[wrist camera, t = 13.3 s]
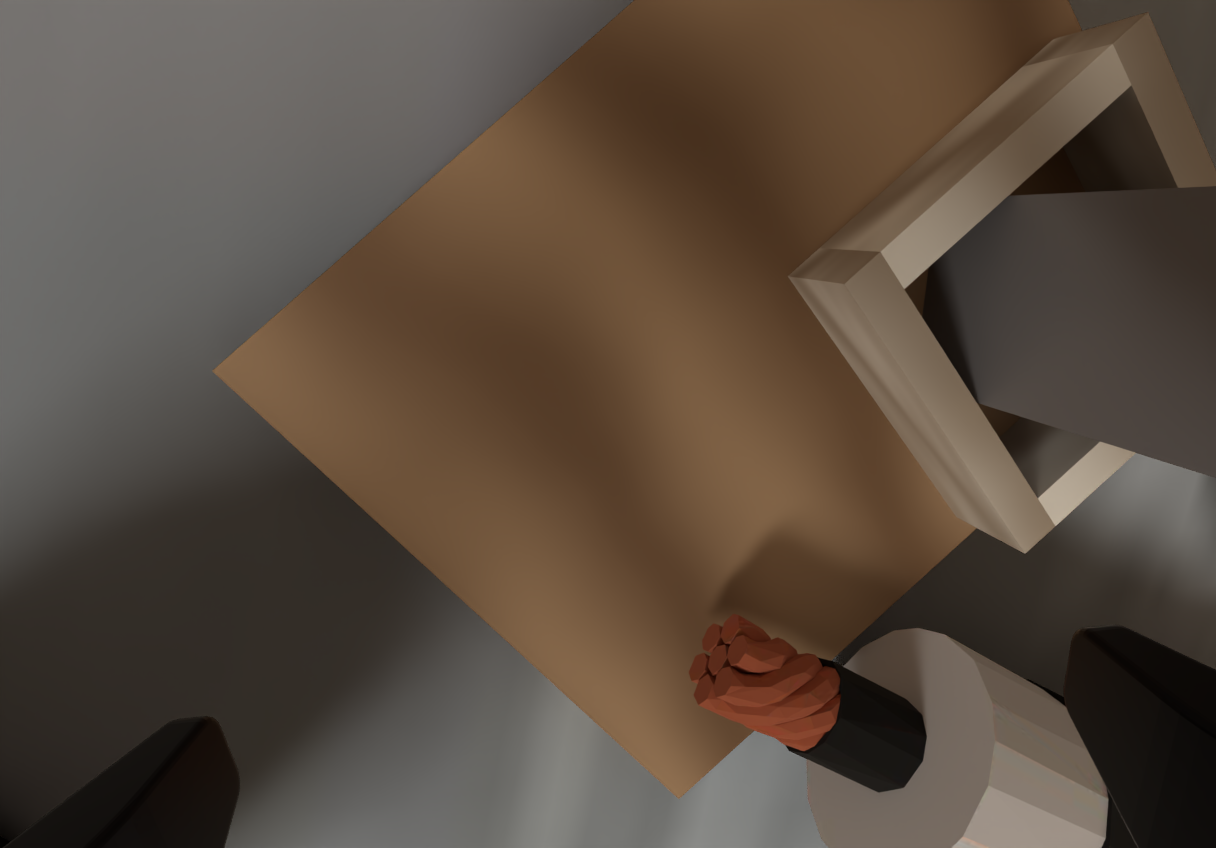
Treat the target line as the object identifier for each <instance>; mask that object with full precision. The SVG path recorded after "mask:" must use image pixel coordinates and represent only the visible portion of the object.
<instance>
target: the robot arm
mask: <svg viewBox="0 0 1216 848" xmlns="http://www.w3.org/2000/svg"><path fill="white" fill-rule="evenodd" d="M1064 700H1065V705H1066V708H1067V711H1068V713H1069V715H1070V718H1071V720H1072V721H1073V723H1074V725H1075V727H1076V729H1077V731H1078V733H1079V735H1080V737H1081V739H1082V741H1083V743H1084V745H1085V747H1086V749H1087V751H1088V753H1089V755H1090V757H1091V758H1092V760H1093V762H1094V764H1095V766H1096V768H1097V770H1098V772H1099V774H1100V776H1101V778H1102V780H1103V782H1104V784H1105V786H1106V788H1107V790H1108V792H1109V793H1110V795H1111V797H1112V799H1113V801H1114V803H1115V805H1116V807H1117V809H1118V811H1119V813H1120V815H1121V817H1122V819H1123V821H1124V823H1125V825H1126V827H1127V829H1128V830H1129V832H1130V834H1131V836H1132V838H1133V840H1134V842H1135V843H1136V845H1137V847H1138V848H1216V670H1215V669H1212V668H1210V667H1208V666H1206V665H1204V664H1202V663H1200V662H1198V661H1196V660H1193V659H1191V658H1189V657H1187V656H1185V655H1183V654H1181V653H1179V652H1177V651H1174V650H1172V649H1170V648H1168V647H1166V646H1164V645H1162V644H1160V643H1158V642H1155V641H1153V640H1151V639H1149V638H1147V637H1145V636H1143V635H1141V634H1139V633H1137V632H1134V631H1132V630H1130V629H1128V628H1126V627H1123V626H1120V625H1105V626H1095V627H1085V628H1081V629H1079V630H1077V631H1076V632H1075V634H1074V635H1073V638H1072V641H1071V647H1070V653H1069V659H1068V665H1067V671H1066V677H1065V683H1064ZM239 789H240V778H239V772H238V769H237V766H236V764H235V761H234V759H233V756H232V754H231V751H230V749H229V746H228V744H227V741H226V739H225V736H224V734H223V731H222V729H221V726H220V725H219V723H218V722H217V721H216V720H215V719H214V718H213V717H208V716H203V717H193V718H183V719H177V720H173V721H171V722H169V723H167V724H166V725H164V726H163V727H162V728H160V729H159V730H158V731H157V732H155V733H154V734H153V735H151V736H150V737H149V738H147V739H146V740H145V741H143V742H142V743H141V744H139V745H138V746H137V747H135V748H134V749H133V750H131V751H130V752H129V753H127V754H126V755H125V756H123V757H122V758H121V759H119V760H118V761H117V762H115V763H114V764H113V765H111V766H110V767H109V768H108V769H106V770H105V771H104V772H102V773H101V774H100V775H98V776H97V777H96V778H94V779H93V780H92V781H90V782H89V783H88V784H86V785H85V786H84V787H82V788H81V789H80V790H78V791H77V792H76V793H74V794H73V795H72V796H70V797H69V798H68V799H66V800H65V801H64V802H62V803H61V804H60V805H58V806H57V807H56V808H54V809H53V810H52V811H51V812H49V813H48V814H47V815H45V816H44V817H43V818H41V819H40V820H39V821H37V822H36V823H35V824H33V825H32V826H31V827H29V828H28V829H27V830H25V831H24V832H23V833H21V834H20V835H19V836H17V837H16V838H15V839H13V840H12V841H11V842H10V841H8V840H6V839H4V838H3V837H1V836H0V848H224V847H225V843H226V840H227V836H228V833H229V829H230V825H231V822H232V818H233V815H234V811H235V807H236V804H237V800H238V796H239Z"/></svg>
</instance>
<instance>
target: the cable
mask: <svg viewBox="0 0 1216 848" xmlns="http://www.w3.org/2000/svg"><path fill="white" fill-rule="evenodd" d="M702 646H703V650H705V651H707V652H709V653H711V655H710V656H709V655H707V654H705V653H702V654H699V655H697V656H695V658H694V660H693V663H692V665H691V667H690V670H689V675H690V678H691V681H692V682H695V683H697V687H696V690H695V692H694V697H695V699H696V701H697V704H698V705H699V706H701V707H703V708H705V709H708V710H710V711H712V712H714V713H716V714H718V715H721V716H723V717H725V718H727V719H729V720H731V721H734V722H737V723H741V724H743V725H744V726H745V727H746V728H749V729H752V730H755V731H757V732H760V733H763V734H766V735H769V736H772V737H774V738H776V739H777V740H779V741H780V742H781V743H783V744H785V745H786V747H787V748H788V750H789V751H791V752H793V753H795V754H797V755H799V756H801V757H804V758H806V759H807V789H808V801H809V804H810V807H811V810H812V813H813V816H814V819H815V822H816V825H817V827H818V830H819V833H820V836H821V839H822V840H823V841H824V843H825V844H826V845H827V846H828V847H829V848H1138V847H1137V845H1136V843H1135V842H1134V840H1133V838H1132V836H1131V834H1130V832H1129V830H1128V829H1127V827H1126V825H1125V823H1124V821H1123V819H1122V817H1121V815H1120V813H1119V811H1118V809H1117V807H1116V805H1115V803H1114V801H1113V799H1112V797H1111V795H1110V793H1109V792H1108V790H1107V788H1106V786H1105V784H1104V782H1103V780H1102V778H1101V776H1100V774H1099V772H1098V770H1097V768H1096V766H1095V764H1094V762H1093V760H1092V758H1091V757H1090V755H1089V753H1088V751H1087V749H1086V747H1085V745H1084V743H1083V741H1082V739H1081V737H1080V735H1079V733H1078V731H1077V729H1076V727H1075V725H1074V723H1073V721H1072V720H1071V718H1070V715H1069V713H1068V711H1067V708H1066V705H1065V700H1064V697H1062V696H1060V695H1058V694H1056V693H1054V692H1052V691H1050V690H1048V689H1046V688H1044V687H1042V686H1040V685H1038V684H1036V683H1034V682H1032V681H1031V680H1027V679H1024V678H1022V677H1020V676H1018V675H1016V674H1015V673H1013V672H1011V671H1009V670H1007V669H1006V668H1004V667H1002V666H1000V665H999V664H997V663H995V662H993V661H991V660H990V659H988V658H986V657H984V656H982V655H981V654H979V653H977V652H975V651H974V650H972V649H970V648H968V647H966V646H965V645H963V644H961V643H959V642H957V641H956V640H954V639H952V638H950V637H949V636H947V635H945V634H941V633H937V632H933V631H929V630H924V629H920V628H913V629H903V630H894V631H892V632H890V633H888V634H886V635H884V636H882V637H880V638H879V639H877V640H875V641H873V642H871V643H869V644H867V645H865V646H863V647H862V648H861V649H860V650H859V651H858V652H857V653H856V654H855V655H854V656H853V657H852V658H851V659H850V660H849V661H848V662H847V663H846V664H845V665H844V666H841V665H839V664H837V663H835V662H833V661H830V660H826V659H822V658H818V657H817V656H816V655H815V654H809V653H804V654H798V653H797V650H796V649H795V648H794V647H792V646H791V645H790V644H789V643H787V642H786V641H785V640H783V639H781V638H778V637H777V638H774V639H772V640H771V638H770V637H769V636H768V634H767V633H766V632H765V631H764V630H763V629H762V628H760V627H758V626H757V625H755V624H753V623H752V622H750V621H748V620H746V619H745V618H743V617H741V616H740V615H737V614H732V615H731V616H730V617H729V618H728V619H727V620H726V621H725V622H724V624H723V627H722V626H720V625H717V624H714V623H713V624H712V625H711V626H710V627H709V628H708V629H707V631H706V633H705V635H704V638H703V640H702Z"/></svg>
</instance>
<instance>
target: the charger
mask: <svg viewBox="0 0 1216 848" xmlns="http://www.w3.org/2000/svg"><path fill="white" fill-rule="evenodd" d="M922 318H923V319H924V321H925V323H926V324H927V326H928V327H929V329H930V330H931V332H932V333H933V335H934V337H935V338H936V340H937V341H938V343H939V344H940V346H941V348H942V349H943V351H944V352H945V354H946V355H947V357H948V359H949V360H950V362H951V363H952V365H953V366H954V368H955V370H956V371H957V373H958V374H959V376H960V377H961V379H962V380H963V382H964V384H965V385H966V387H967V388H968V390H969V391H970V393H971V395H972V396H973V398H974V399H975V401H976V402H977V403H979V404H982V405H985V406H988V407H992V408H995V409H998V410H1001V411H1004V412H1008V413H1011V414H1014V415H1017V416H1020V417H1023V418H1027V419H1030V420H1033V421H1036V422H1039V423H1043V424H1046V425H1049V426H1052V427H1055V428H1059V429H1062V430H1065V431H1068V432H1071V433H1074V434H1078V435H1081V436H1084V437H1087V438H1090V439H1094V440H1097V441H1100V442H1103V443H1106V444H1109V445H1113V446H1116V447H1119V448H1122V449H1125V450H1129V451H1132V452H1135V453H1138V454H1141V455H1145V456H1148V457H1151V458H1154V459H1157V460H1160V461H1164V462H1167V463H1170V464H1173V465H1176V466H1180V467H1183V468H1186V469H1189V470H1192V471H1196V472H1199V473H1202V474H1205V475H1208V476H1211V477H1215V478H1216V186H1207V187H1186V188H1165V189H1143V190H1122V191H1100V192H1079V193H1058V194H1036V195H1015V196H1008V197H1006V198H1005V199H1004V200H1003V201H1002V202H1001V203H1000V204H999V205H997V206H996V207H995V208H994V209H993V210H992V211H991V212H990V213H989V214H987V215H986V216H985V217H984V218H983V219H982V220H981V221H980V222H979V223H977V224H976V225H975V226H974V227H973V228H972V229H971V230H970V231H969V232H967V233H966V234H965V235H964V236H963V237H962V238H961V239H960V240H958V241H957V242H956V243H955V244H954V245H953V246H952V247H951V248H950V249H948V250H947V251H946V252H945V253H944V254H943V255H942V256H941V257H940V258H938V259H937V260H936V261H935V262H934V263H933V264H932V265H931V266H930V267H929V269H928V277H927V284H926V292H925V299H924V306H923V314H922Z"/></svg>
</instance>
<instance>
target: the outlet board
mask: <svg viewBox="0 0 1216 848" xmlns="http://www.w3.org/2000/svg"><path fill="white" fill-rule="evenodd" d="M1207 186H1216V169H1215V167H1214V165H1213V162H1212V160H1211V158H1210V155H1209V153H1208V151H1207V148H1206V146H1205V144H1204V141H1203V139H1202V137H1201V134H1200V132H1199V130H1198V127H1197V125H1196V123H1195V120H1194V118H1193V116H1192V113H1191V111H1190V109H1189V106H1188V104H1187V102H1186V99H1185V97H1184V95H1183V92H1182V90H1181V88H1180V85H1179V83H1178V81H1177V78H1176V76H1175V74H1174V71H1173V69H1172V67H1171V64H1170V62H1169V60H1168V57H1167V55H1166V53H1165V50H1164V48H1163V46H1162V43H1161V41H1160V39H1159V36H1158V34H1157V32H1156V29H1155V27H1154V25H1153V22H1152V20H1151V18H1150V15H1149V13H1148V12H1147V13H1143V14H1140V15H1136V16H1133V17H1129V18H1126V19H1122V20H1119V21H1115V22H1112V23H1108V24H1105V25H1101V26H1098V27H1094V28H1091V29H1087V30H1084V31H1082V29H1081V27H1080V25H1079V23H1078V20H1077V18H1076V16H1075V14H1074V12H1073V10H1072V8H1071V5H1070V3H1069V1H1068V0H634V1H633V2H632V3H631V4H630V5H629V6H627V7H626V8H625V9H624V10H623V11H622V12H621V13H619V14H618V15H617V16H616V17H615V18H614V19H613V20H611V21H610V22H609V23H608V24H607V25H606V26H605V27H603V28H602V29H601V30H600V31H599V32H598V33H597V34H595V35H594V36H593V37H592V38H591V39H590V40H589V41H588V42H586V43H585V44H584V45H583V46H582V47H581V48H580V49H578V50H577V51H576V52H575V53H574V54H573V55H572V56H570V57H569V58H568V59H567V60H566V61H565V62H564V63H562V64H561V65H560V66H559V67H558V68H557V69H556V70H554V71H553V72H552V73H551V74H550V75H549V76H548V77H546V78H545V79H544V80H543V81H542V82H541V83H540V84H538V85H537V86H536V87H535V88H534V89H533V90H532V91H531V92H529V93H528V94H527V95H526V96H525V97H524V98H523V99H521V100H520V101H519V102H518V103H517V104H516V105H515V106H513V107H512V108H511V109H510V110H509V111H508V112H507V113H505V114H504V115H503V116H502V117H501V118H500V119H499V120H497V121H496V122H495V123H494V124H493V125H492V126H491V127H489V128H488V129H487V130H486V131H485V132H484V133H483V134H482V135H480V136H479V137H478V138H477V139H476V140H475V141H474V142H472V143H471V144H470V145H469V146H468V147H467V148H466V149H464V150H463V151H462V152H461V153H460V154H459V155H458V156H456V157H455V158H454V159H453V160H452V161H451V162H450V163H448V164H447V165H446V166H445V167H444V168H443V169H442V170H440V171H439V172H438V173H437V174H436V175H435V176H434V177H432V178H431V179H430V180H429V181H428V182H427V183H426V184H425V185H423V186H422V187H421V188H420V189H419V190H418V191H417V192H415V193H414V194H413V195H412V196H411V197H410V198H409V199H407V200H406V201H405V202H404V203H403V204H402V205H401V206H399V207H398V208H397V209H396V210H395V211H394V212H393V213H391V214H390V215H389V216H388V217H387V218H386V219H385V220H383V221H382V222H381V223H380V224H379V225H378V226H377V227H375V228H374V229H373V230H372V231H371V232H370V233H369V234H368V235H366V236H365V237H364V238H363V239H362V240H361V241H360V242H358V243H357V244H356V245H355V246H354V247H353V248H352V249H350V250H349V251H348V252H347V253H346V254H345V255H344V256H342V257H341V258H340V259H339V260H338V261H337V262H336V263H334V264H333V265H332V266H331V267H330V268H329V269H328V270H326V271H325V272H324V273H323V274H322V275H321V276H320V277H319V278H317V279H316V280H315V281H314V282H313V283H312V284H311V285H309V286H308V287H307V288H306V289H305V290H304V291H303V292H301V293H300V294H299V295H298V296H297V297H296V298H295V299H293V300H292V301H291V302H290V303H289V304H288V305H287V306H285V307H284V308H283V309H282V310H281V311H280V312H279V313H277V314H276V315H275V316H274V317H273V318H272V319H271V320H269V321H268V322H267V323H266V324H265V325H264V326H263V327H262V328H260V329H259V330H258V331H257V332H256V333H255V334H254V335H252V336H251V337H250V338H249V339H248V340H247V341H246V342H244V343H243V344H242V345H241V346H240V347H239V348H238V349H236V350H235V351H234V352H233V353H232V354H231V355H230V356H228V357H227V358H226V359H225V360H224V361H223V362H222V363H220V364H219V365H218V366H217V367H216V368H215V369H214V370H213V372H214V373H215V374H216V375H217V376H218V377H219V378H220V379H221V380H223V381H224V382H225V383H226V384H227V385H228V386H229V387H230V388H231V389H232V390H233V391H235V392H236V393H237V394H238V395H239V396H240V397H241V398H242V399H243V400H244V401H245V402H247V403H248V404H249V405H250V406H251V407H252V408H253V409H254V410H255V411H256V412H257V413H259V414H260V415H261V416H262V417H263V418H264V419H265V420H266V421H267V422H268V423H269V424H271V425H272V426H273V427H274V428H275V429H276V430H277V431H278V432H279V433H280V434H281V435H283V436H284V437H285V438H286V439H287V440H288V441H289V442H290V443H291V444H292V445H293V446H295V447H296V448H297V449H298V450H299V451H300V452H301V453H302V454H303V455H304V456H305V457H307V458H308V459H309V460H310V461H311V462H312V463H313V464H314V465H315V466H316V467H317V468H319V469H320V470H321V471H322V472H323V473H324V474H325V475H326V476H327V477H328V478H329V479H331V480H332V481H333V482H334V483H335V484H336V485H337V486H338V487H339V488H340V489H341V490H343V491H344V492H345V493H346V494H347V495H348V496H349V497H350V498H351V499H352V500H353V501H354V502H356V503H357V504H358V505H359V506H360V507H361V508H362V509H363V510H364V511H365V512H366V513H368V514H369V515H370V516H371V517H372V518H373V519H374V520H375V521H376V522H377V523H378V524H380V525H381V526H382V527H383V528H384V529H385V530H386V531H387V532H388V533H389V534H390V535H392V536H393V537H394V538H395V539H396V540H397V541H398V542H399V543H400V544H401V545H402V546H404V547H405V548H406V549H407V550H408V551H409V552H410V553H411V554H412V555H413V556H414V557H416V558H417V559H418V560H419V561H420V562H421V563H422V564H423V565H424V566H425V567H426V568H428V569H429V570H430V571H431V572H432V573H433V574H434V575H435V576H436V577H437V578H438V579H440V580H441V581H442V582H443V583H444V584H445V585H446V586H447V587H448V588H449V589H450V590H452V591H453V592H454V593H455V594H456V595H457V596H458V597H459V598H460V599H461V600H462V601H464V602H465V603H466V604H467V605H468V606H469V607H470V608H471V609H472V610H473V611H474V612H476V613H477V614H478V615H479V616H480V617H481V618H482V619H483V620H484V621H485V622H486V623H488V624H489V625H490V626H491V627H492V628H493V629H494V630H495V631H496V632H497V633H498V634H500V635H501V636H502V637H503V638H504V639H505V640H506V641H507V642H508V643H509V644H510V645H512V646H513V647H514V648H515V649H516V650H517V651H518V652H519V653H520V654H521V655H522V656H524V657H525V658H526V659H527V660H528V661H529V662H530V663H531V664H532V665H533V666H534V667H536V668H537V669H538V670H539V671H540V672H541V673H542V674H543V675H544V676H545V677H546V678H548V679H549V680H550V681H551V682H552V683H553V684H554V685H555V686H556V687H557V688H558V689H559V690H561V691H562V692H563V693H564V694H565V695H566V696H567V697H568V698H569V699H570V700H571V701H573V702H574V703H575V704H576V705H577V706H578V707H579V708H580V709H581V710H582V711H583V712H585V713H586V714H587V715H588V716H589V717H590V718H591V719H592V720H593V721H594V722H595V723H597V724H598V725H599V726H600V727H601V728H602V729H603V730H604V731H605V732H606V733H607V734H609V735H610V736H611V737H612V738H613V739H614V740H615V741H616V742H617V743H618V744H619V745H621V746H622V747H623V748H624V749H625V750H626V751H627V752H628V753H629V754H630V755H631V756H633V757H634V758H635V759H636V760H637V761H638V762H639V763H640V764H641V765H642V766H643V767H645V768H646V769H647V770H648V771H649V772H650V773H651V774H652V775H653V776H654V777H655V778H657V779H658V780H659V781H660V782H661V783H662V784H663V785H664V786H665V787H666V788H667V789H669V790H670V791H671V792H672V793H673V794H674V795H675V796H676V797H677V798H678V799H679V798H680V797H682V796H683V795H684V794H685V793H686V792H687V791H688V790H689V789H690V788H691V787H693V786H694V785H695V784H696V783H697V782H698V781H699V780H700V779H701V778H702V777H704V776H705V775H706V774H707V773H708V772H709V771H710V770H711V769H712V768H713V767H715V766H716V765H717V764H718V763H719V762H720V761H721V760H722V759H723V758H724V757H726V756H727V755H728V754H729V753H730V752H731V751H732V750H733V749H734V748H735V747H737V746H738V745H739V744H740V743H741V742H742V741H743V740H744V739H745V738H746V737H748V736H749V735H750V734H751V733H752V732H753V731H754V730H752V729H749V728H746V727H745V726H744V725H743V724H741V723H737V722H734V721H731V720H729V719H727V718H725V717H723V716H721V715H718V714H716V713H714V712H712V711H710V710H708V709H705V708H703V707H701V706H699V705H698V704H697V701H696V699H695V697H694V692H695V690H696V687H697V683H695V682H692V681H691V678H690V675H689V670H690V667H691V665H692V663H693V660H694V658H695V656H697V655H699V654H702V653H705V654H707V655H709V656H710V655H711V653H709V652H707V651H705V650H703V646H702V640H703V638H704V635H705V633H706V631H707V629H708V628H709V627H710V626H711V625H712V624H713V623H714V624H717V625H720V626H722V627H723V624H724V622H725V621H726V620H727V619H728V618H729V617H730V616H731V615H732V614H737V615H740V616H741V617H743V618H745V619H746V620H748V621H750V622H752V623H753V624H755V625H757V626H758V627H760V628H762V629H763V630H764V631H765V632H766V633H767V634H768V636H769V637H770V638H771V640H772V639H774V638H777V637H778V638H781V639H783V640H785V641H786V642H787V643H789V644H790V645H791V646H792V647H794V648H795V649H796V650H797V653H798V654H804V653H809V654H815V655H816V656H817V657H818V658H822V659H826V660H830V661H831V660H832V659H833V658H834V657H836V656H837V655H838V654H839V653H840V652H841V651H842V650H843V649H844V648H845V647H847V646H848V645H849V644H850V643H851V642H852V641H853V640H854V639H855V638H856V637H858V636H859V635H860V634H861V633H862V632H863V631H864V630H865V629H866V628H867V627H869V626H870V625H871V624H872V623H873V622H874V621H875V620H876V619H877V618H878V617H880V616H881V615H882V614H883V613H884V612H885V611H886V610H887V609H888V608H889V607H891V606H892V605H893V604H894V603H895V602H896V601H897V600H898V599H899V598H900V597H902V596H903V595H904V594H905V593H906V592H907V591H908V590H909V589H910V588H911V587H913V586H914V585H915V584H916V583H917V582H918V581H919V580H920V579H921V578H922V577H924V576H925V575H926V574H927V573H928V572H929V571H930V570H931V569H932V568H933V567H935V566H936V565H937V564H938V563H939V562H940V561H941V560H942V559H943V558H944V557H946V556H947V555H948V554H949V553H950V552H951V551H952V550H953V549H954V548H955V547H957V546H958V545H959V544H960V543H961V542H962V541H963V540H964V539H965V538H966V537H968V536H969V535H970V534H971V533H972V532H973V531H974V530H975V529H976V528H978V529H980V530H982V531H983V532H985V533H987V534H989V535H991V536H993V537H995V538H997V539H998V540H1000V541H1002V542H1004V543H1006V544H1008V545H1010V546H1012V547H1013V548H1015V549H1017V550H1019V551H1021V552H1023V553H1027V552H1028V551H1029V550H1030V549H1031V548H1032V547H1033V546H1034V545H1035V544H1036V543H1038V542H1039V541H1040V540H1041V539H1042V538H1043V537H1044V536H1045V535H1046V534H1047V533H1049V532H1050V531H1051V530H1052V529H1053V528H1054V527H1055V526H1056V525H1057V524H1058V523H1059V522H1061V521H1062V520H1063V519H1064V518H1065V517H1066V516H1067V515H1068V514H1069V513H1070V512H1072V511H1073V510H1074V509H1075V508H1076V507H1077V506H1078V505H1079V504H1080V503H1081V502H1083V501H1084V500H1085V499H1086V498H1087V497H1088V496H1089V495H1090V494H1091V493H1092V492H1093V491H1095V490H1096V489H1097V488H1098V487H1099V486H1100V485H1101V484H1102V483H1103V482H1104V481H1106V480H1107V479H1108V478H1109V477H1110V476H1111V475H1112V474H1113V473H1114V472H1115V471H1117V470H1118V469H1119V468H1120V467H1121V466H1122V465H1123V464H1124V463H1125V462H1126V461H1127V460H1129V459H1130V458H1131V457H1132V456H1133V455H1134V454H1135V452H1132V451H1129V450H1125V449H1122V448H1119V447H1116V446H1113V445H1109V444H1106V443H1103V442H1100V441H1097V440H1094V439H1090V438H1087V437H1084V436H1081V435H1078V434H1074V433H1071V432H1068V431H1065V430H1062V429H1059V428H1055V427H1052V426H1049V425H1046V424H1043V423H1039V422H1036V421H1033V420H1030V419H1027V418H1023V417H1020V416H1017V415H1014V414H1011V413H1008V412H1004V411H1001V410H998V409H995V408H992V407H988V406H985V405H982V404H979V403H977V402H976V401H975V399H974V398H973V396H972V395H971V393H970V391H969V390H968V388H967V387H966V385H965V384H964V382H963V380H962V379H961V377H960V376H959V374H958V373H957V371H956V370H955V368H954V366H953V365H952V363H951V362H950V360H949V359H948V357H947V355H946V354H945V352H944V351H943V349H942V348H941V346H940V344H939V343H938V341H937V340H936V338H935V337H934V335H933V333H932V332H931V330H930V329H929V327H928V326H927V324H926V323H925V321H924V319H923V318H922V314H923V306H924V299H925V292H926V284H927V277H928V269H929V267H930V266H931V265H932V264H933V263H934V262H935V261H936V260H937V259H938V258H940V257H941V256H942V255H943V254H944V253H945V252H946V251H947V250H948V249H950V248H951V247H952V246H953V245H954V244H955V243H956V242H957V241H958V240H960V239H961V238H962V237H963V236H964V235H965V234H966V233H967V232H969V231H970V230H971V229H972V228H973V227H974V226H975V225H976V224H977V223H979V222H980V221H981V220H982V219H983V218H984V217H985V216H986V215H987V214H989V213H990V212H991V211H992V210H993V209H994V208H995V207H996V206H997V205H999V204H1000V203H1001V202H1002V201H1003V200H1004V199H1005V198H1006V197H1008V196H1015V195H1036V194H1058V193H1079V192H1100V191H1122V190H1143V189H1165V188H1186V187H1207Z"/></svg>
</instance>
